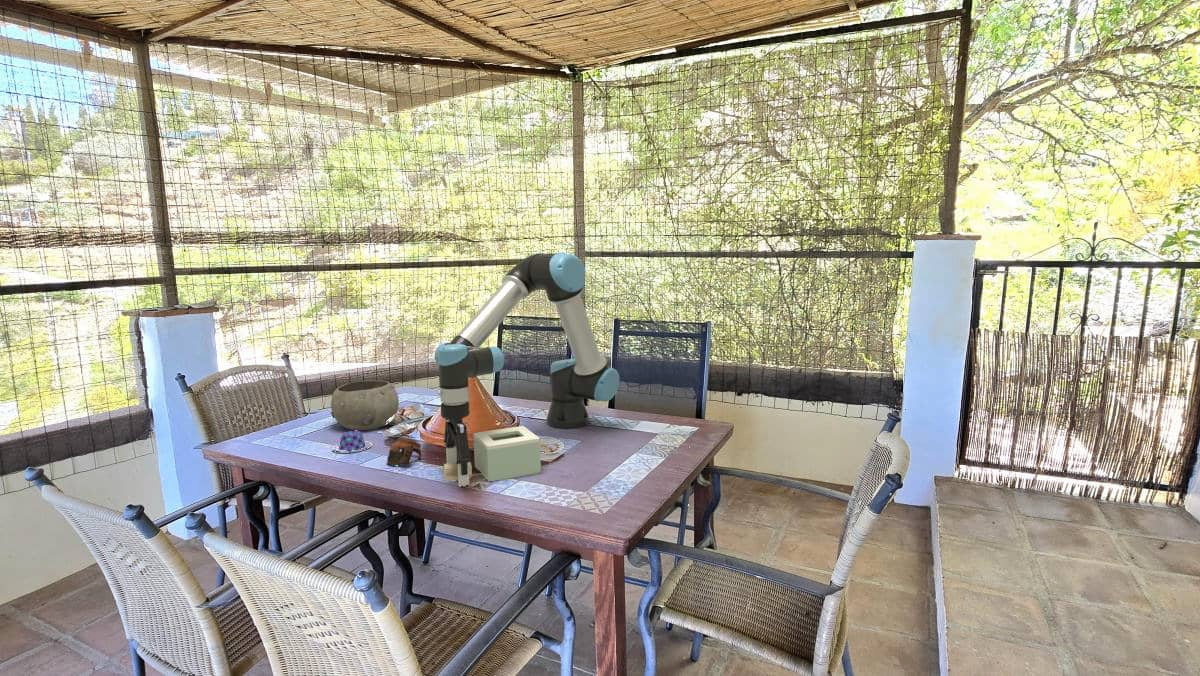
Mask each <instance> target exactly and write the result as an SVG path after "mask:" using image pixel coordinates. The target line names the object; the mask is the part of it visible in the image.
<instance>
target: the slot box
mask: <svg viewBox="0 0 1200 676" xmlns="http://www.w3.org/2000/svg"><path fill="white" fill-rule="evenodd" d="M472 434H473V450H474V451H473V453H474V455H473V457H474V468H476V470H477V471H478V470H479V471H480V472H481V473H480V472H479V471H478V472H479V473H480V474H481V475H482V476H483V478H484V477H485V478H486V479H487V480H488V481H487V480H486V479H485V478H484V479H485V480H486V481H487V483H490V482H489V481H493V482H496V481H495V480H499V481H503V480H502V479H504V480H509V479H508V478H510V479H515V478H519V477H520V476H521V477H525V476H530V475H536V474H537V475H538V474H541V473H542V471H541V470H542V467H541V466H542V465H541V438H540V437H539V436H537V435H536V434H534V433H533V432H532V431H530V430H529V429H528V428H527V427H525V426H524V425H520V426H513V427H506V428H499V429H494V430H493V429H492V430H484V431H478V432H473V433H472ZM514 477H515V478H514Z"/></svg>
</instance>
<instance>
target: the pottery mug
mask: <svg viewBox="0 0 1200 676" xmlns="http://www.w3.org/2000/svg"><path fill="white" fill-rule="evenodd" d="M421 447H422V444H420V443H418V442H416V441H413V440H410V439H406V438H402V437H398V438H397V440H396V441H395V442H394V443H393V444H391V446H390V448H389V451H388V455H387V458H386V459H387V460H386V464H387V465H389V466H392V465H394V466H393V467H396V466H395V465H399V466H400V463H402V464H403V465H407V464H410V461H411V458H412V456H413V452H415V453H416V454H417V455H418V459H419V458H420V459H419V460H421V459H422V450H421ZM400 450H401V451H400Z"/></svg>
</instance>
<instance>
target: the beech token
mask: <svg viewBox="0 0 1200 676" xmlns="http://www.w3.org/2000/svg"><path fill="white" fill-rule="evenodd" d="M443 467H444V469H443V471H444V480H446V481H452V480H458V464H456V463H449V464H447V463H443ZM472 468H473V467H472V463H471V462H469V478H472V479H473V472H472V471H473V470H472ZM446 481H445V482H446Z"/></svg>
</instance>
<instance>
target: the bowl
mask: <svg viewBox="0 0 1200 676" xmlns="http://www.w3.org/2000/svg"><path fill="white" fill-rule="evenodd" d="M399 402H400V399H399V396H398V393H397V390H396V388H395V386H394V385H393V384H392V383H391V382H389V381H386V380H381V379H378V380H377V379H371V380H369V379H368V380H358V381H352V382H347V383H345V384H343V385H341V386H338V387H337V388H336V389H334V391H333V392H332V395H331V402H330V404H331V405H330V407H331V411H330V414H331V417H332V418H333V419H335V421H336V422H337V423H338V424H339V425H340V426H341V427H343V428H345V429H347V430H349V429H351V430H350V431H353V430H367V431H371V430H370V429H374V430H377V429H376V428H379V429H381V428H380V427H382V426H384V425H385V424H386V421H387V420H388V419H389V418H390V417H392V416H393V415H394V414H396V413H398V410H399ZM396 415H397V414H396ZM384 427H385V426H384ZM382 428H383V427H382Z"/></svg>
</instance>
